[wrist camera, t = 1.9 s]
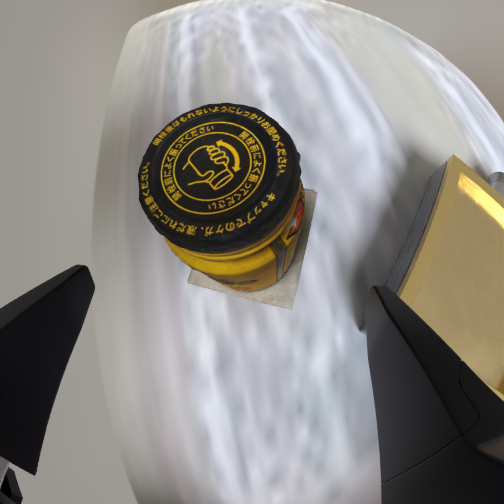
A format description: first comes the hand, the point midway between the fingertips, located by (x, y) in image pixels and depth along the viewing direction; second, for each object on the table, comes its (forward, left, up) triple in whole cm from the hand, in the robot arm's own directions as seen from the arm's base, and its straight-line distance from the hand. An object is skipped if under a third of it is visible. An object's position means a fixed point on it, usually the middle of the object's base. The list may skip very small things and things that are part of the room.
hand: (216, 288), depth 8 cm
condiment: (+4, 0, -11) cm, 12 cm away
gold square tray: (+2, -18, -11) cm, 21 cm away
